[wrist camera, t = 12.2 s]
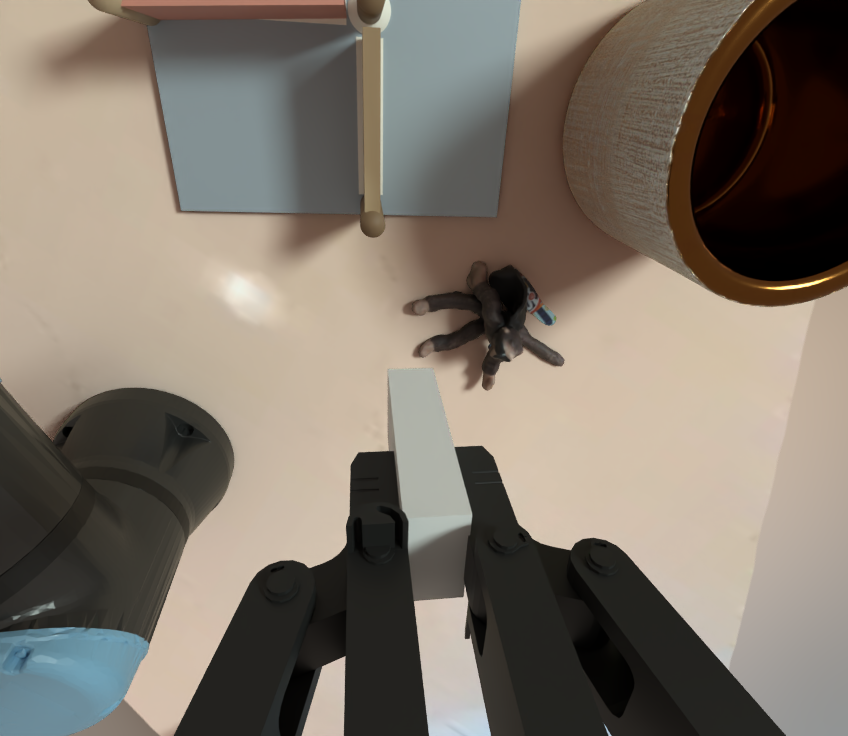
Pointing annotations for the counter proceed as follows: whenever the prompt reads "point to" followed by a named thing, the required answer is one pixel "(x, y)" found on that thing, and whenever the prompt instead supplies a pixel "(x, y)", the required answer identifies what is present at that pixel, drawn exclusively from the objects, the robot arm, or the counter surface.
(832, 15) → the planter
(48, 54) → the counter surface
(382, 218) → the fixed fence panel
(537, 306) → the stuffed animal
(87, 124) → the counter surface
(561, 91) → the counter surface
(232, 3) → the hinged fence panel
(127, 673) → the robot arm
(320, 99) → the card
